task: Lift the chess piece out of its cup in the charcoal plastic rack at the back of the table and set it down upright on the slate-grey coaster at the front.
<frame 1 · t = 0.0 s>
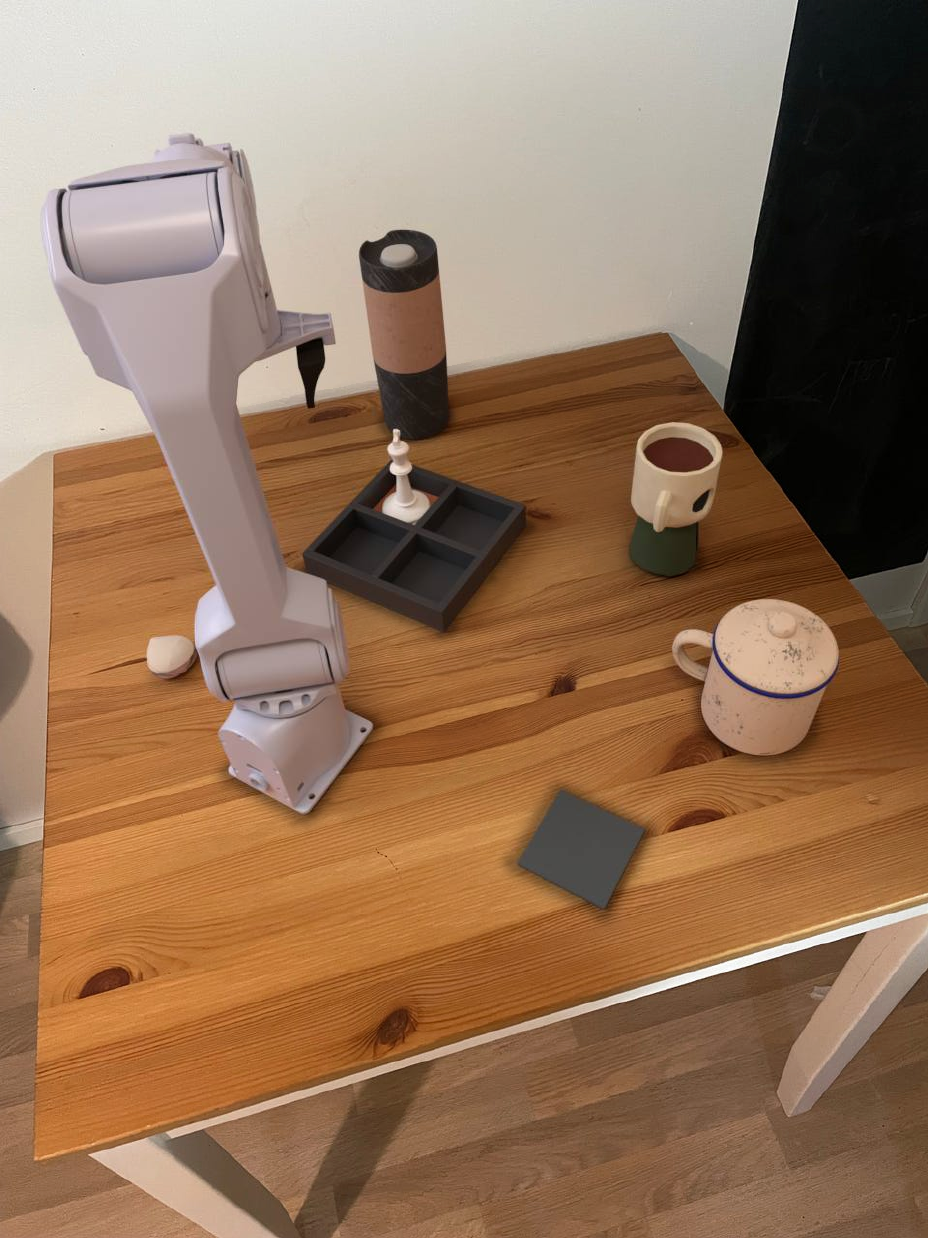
hand: (270, 406, 88), 11 cm above the table, tool pointing down, fingers open, 7 cm apart
travel mug: (417, 421, 103), on the table
coaster: (581, 848, 68), on the table
character mug: (662, 557, 87), on the table
chess piece: (406, 512, 92), resting on rack
teacup with lid: (736, 707, 76), on the table
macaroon: (172, 663, 82), on the table
rack: (418, 549, 89), on the table
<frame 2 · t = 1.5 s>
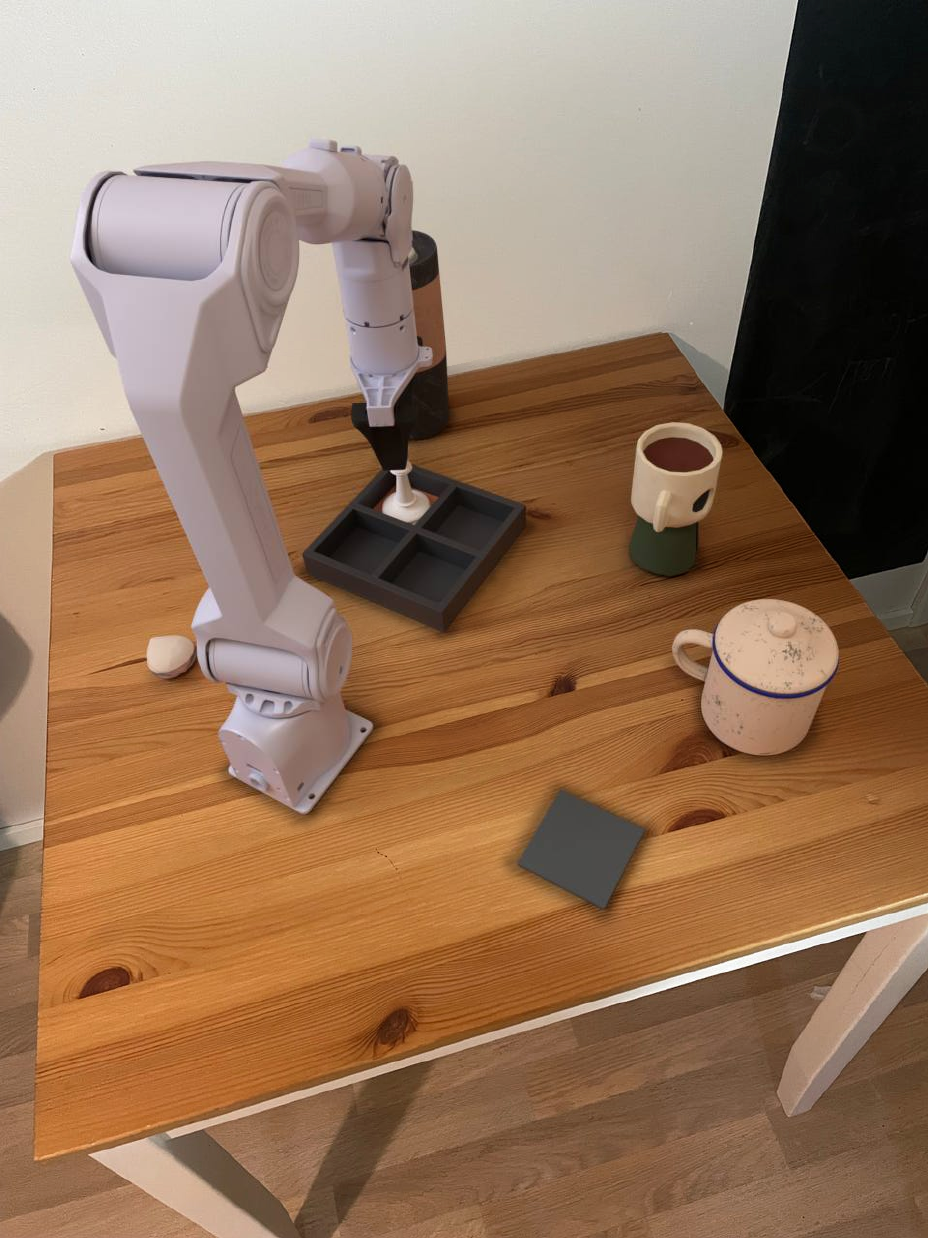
hand: (397, 440, 85), 9 cm above the table, tool pointing down, fingers open, 7 cm apart
nothing on the table moved.
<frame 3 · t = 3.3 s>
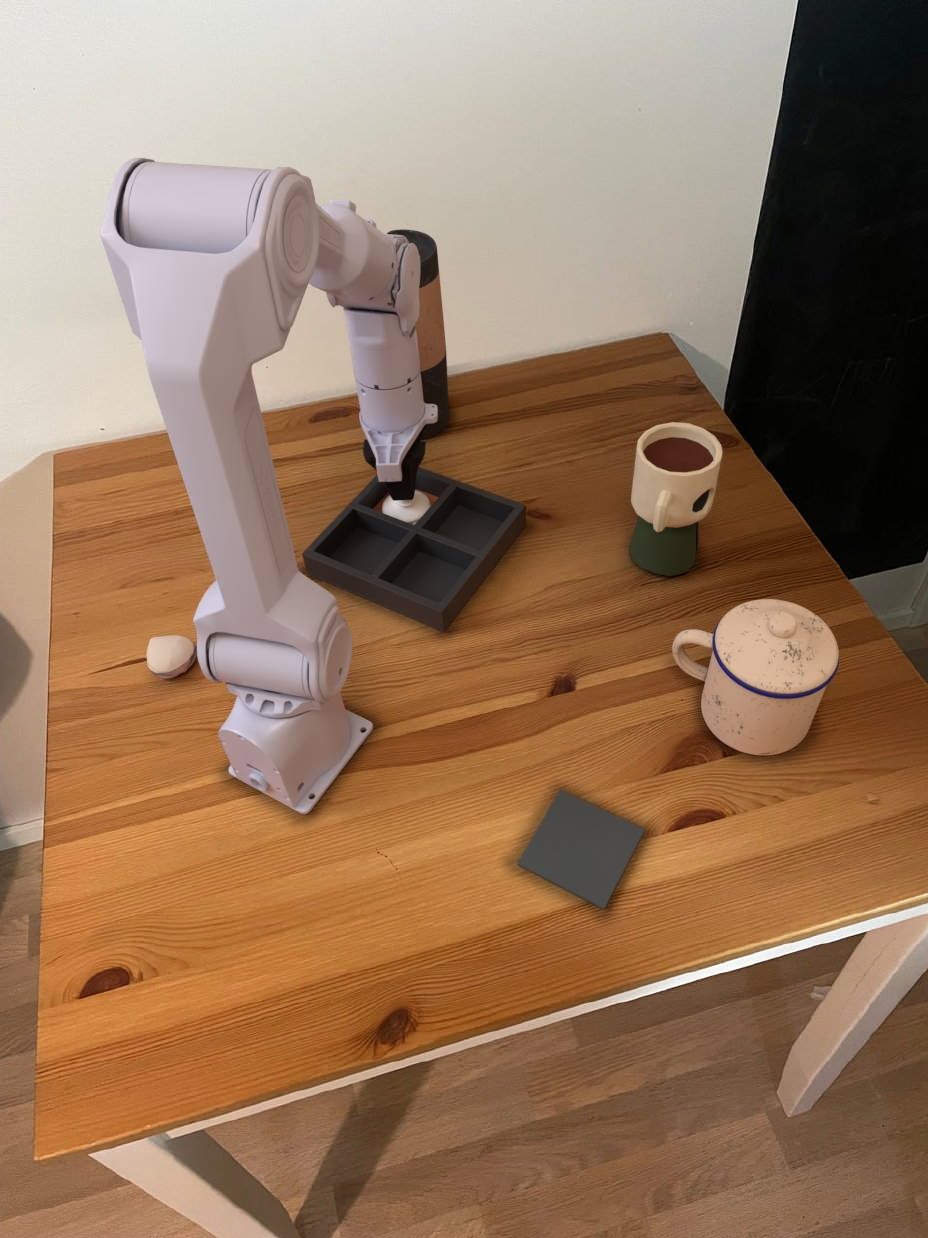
hand: (403, 489, 90), 3 cm above the table, tool pointing down, fingers closed on chess piece
chess piece: (406, 512, 92), resting on rack, touching gripper
everything else where it was.
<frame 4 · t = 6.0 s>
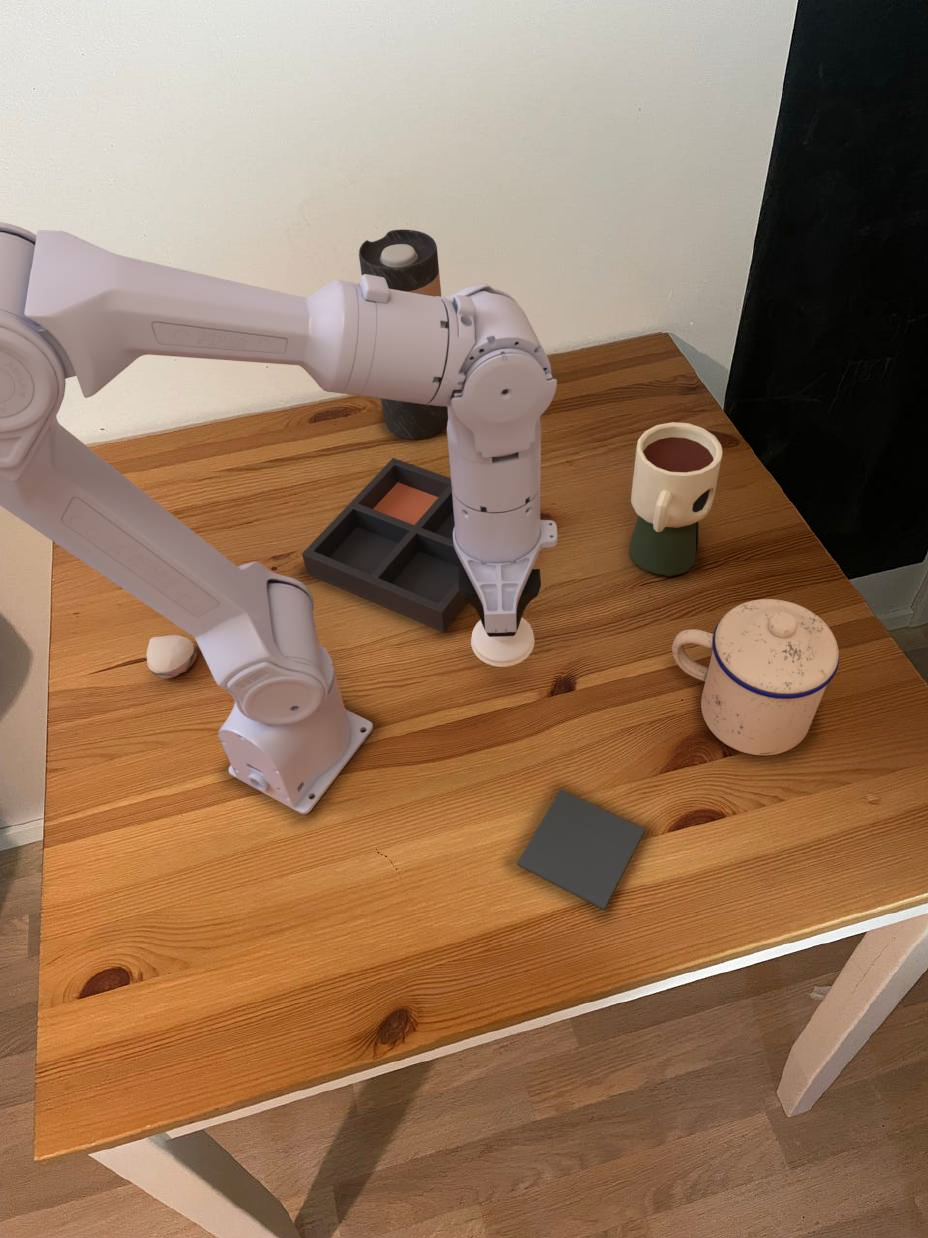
hand: (501, 620, 69), 10 cm above the table, tool pointing down, fingers closed on chess piece
chess piece: (502, 642, 72), point 7 cm above the table, touching gripper
everything else where it was.
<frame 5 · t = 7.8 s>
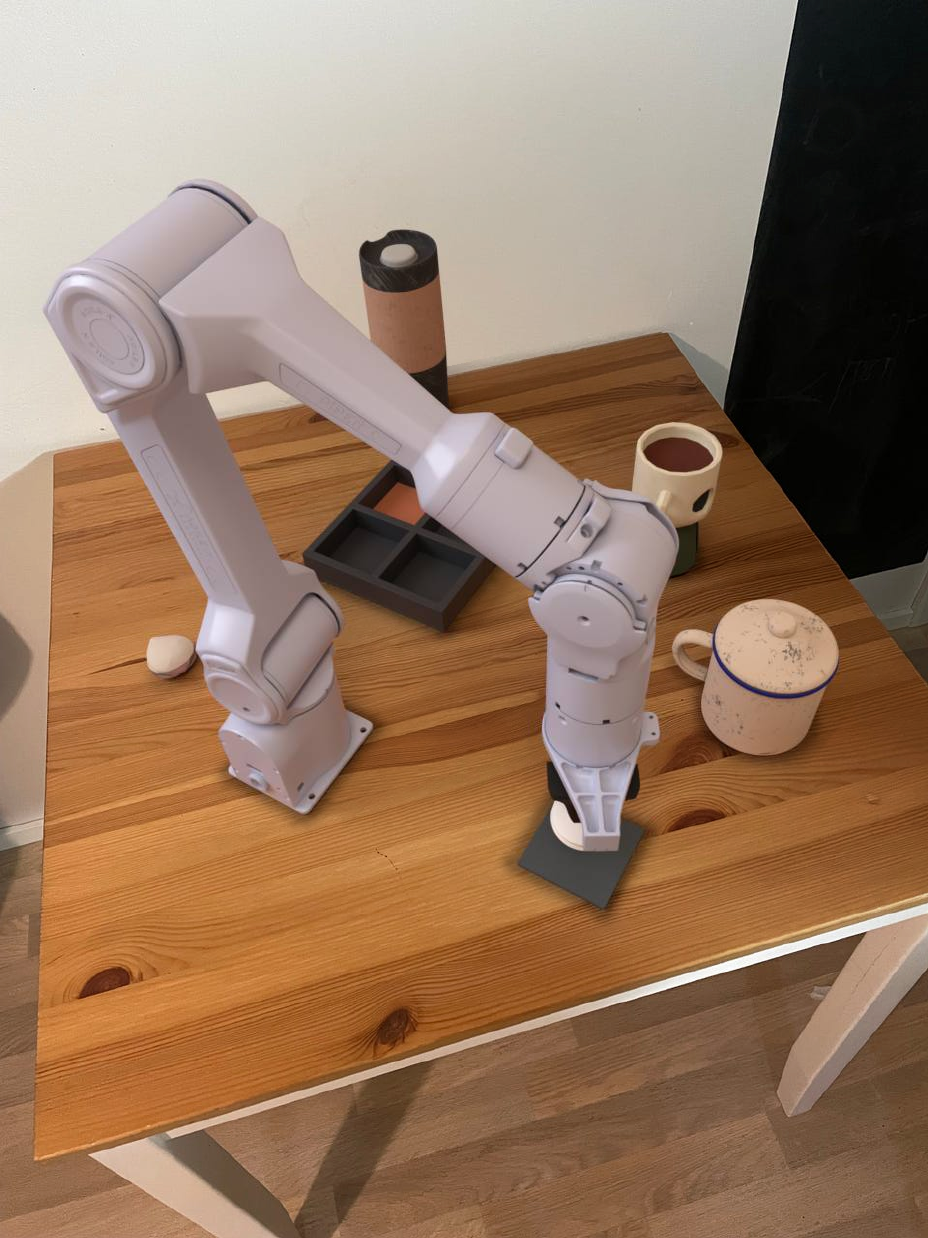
hand: (585, 801, 63), 7 cm above the table, tool pointing down, fingers closed on chess piece
chess piece: (585, 820, 65), point 4 cm above the table, touching gripper
everything else where it was.
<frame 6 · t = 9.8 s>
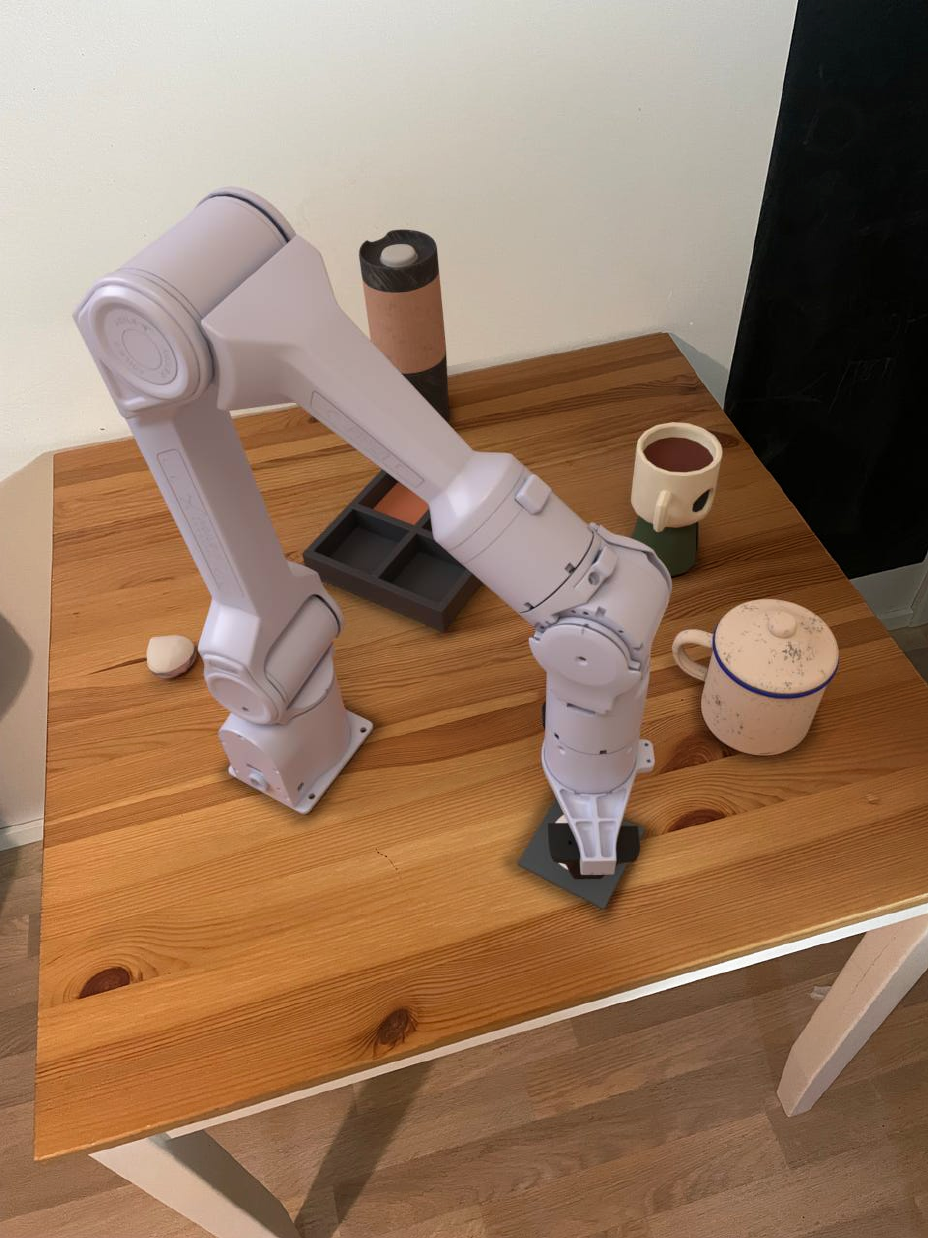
hand: (583, 823, 65), 4 cm above the table, tool pointing down, fingers open, 7 cm apart
chess piece: (582, 844, 68), resting on coaster
everything else where it was.
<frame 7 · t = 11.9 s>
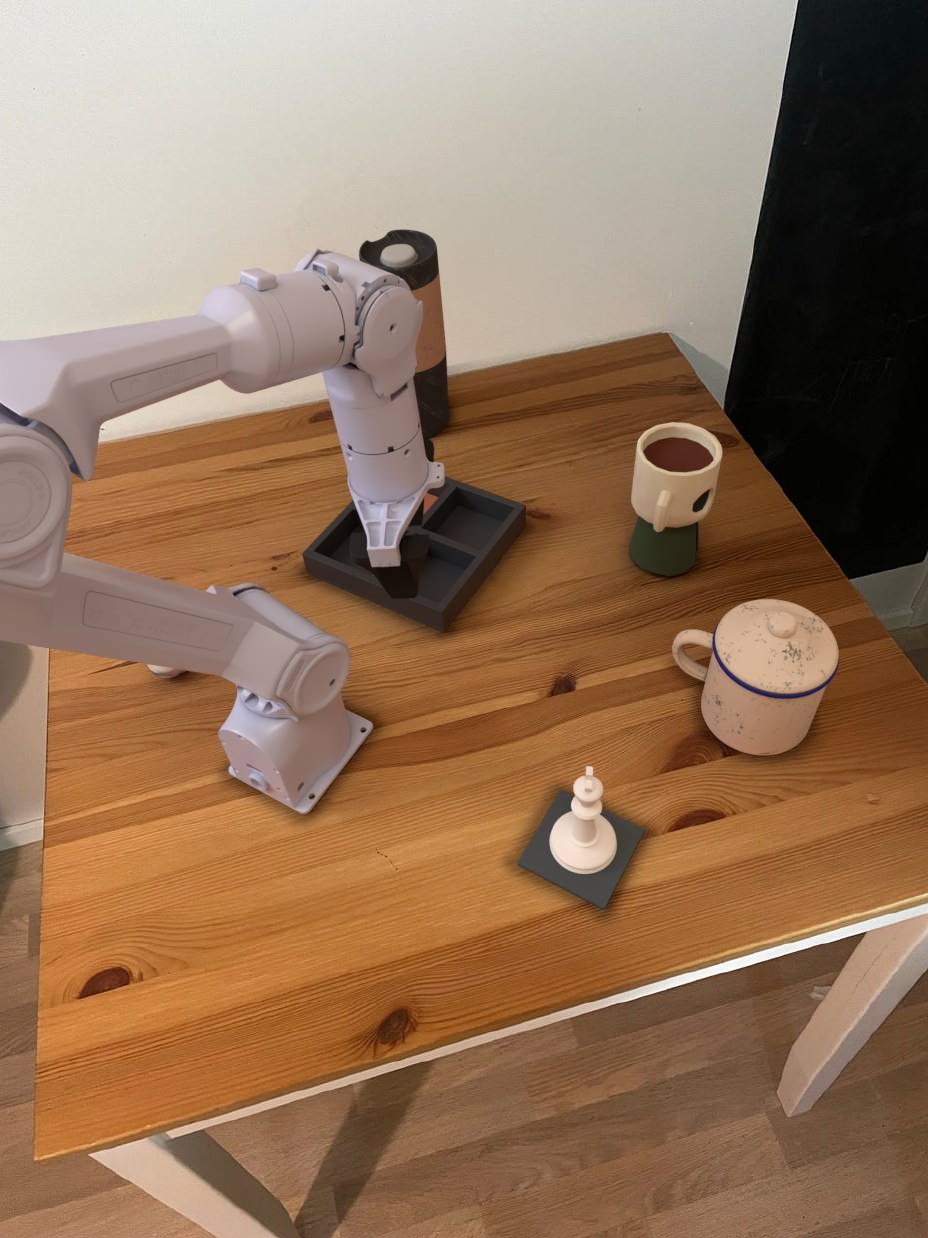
hand: (406, 557, 74), 10 cm above the table, tool pointing down, fingers open, 7 cm apart
nothing on the table moved.
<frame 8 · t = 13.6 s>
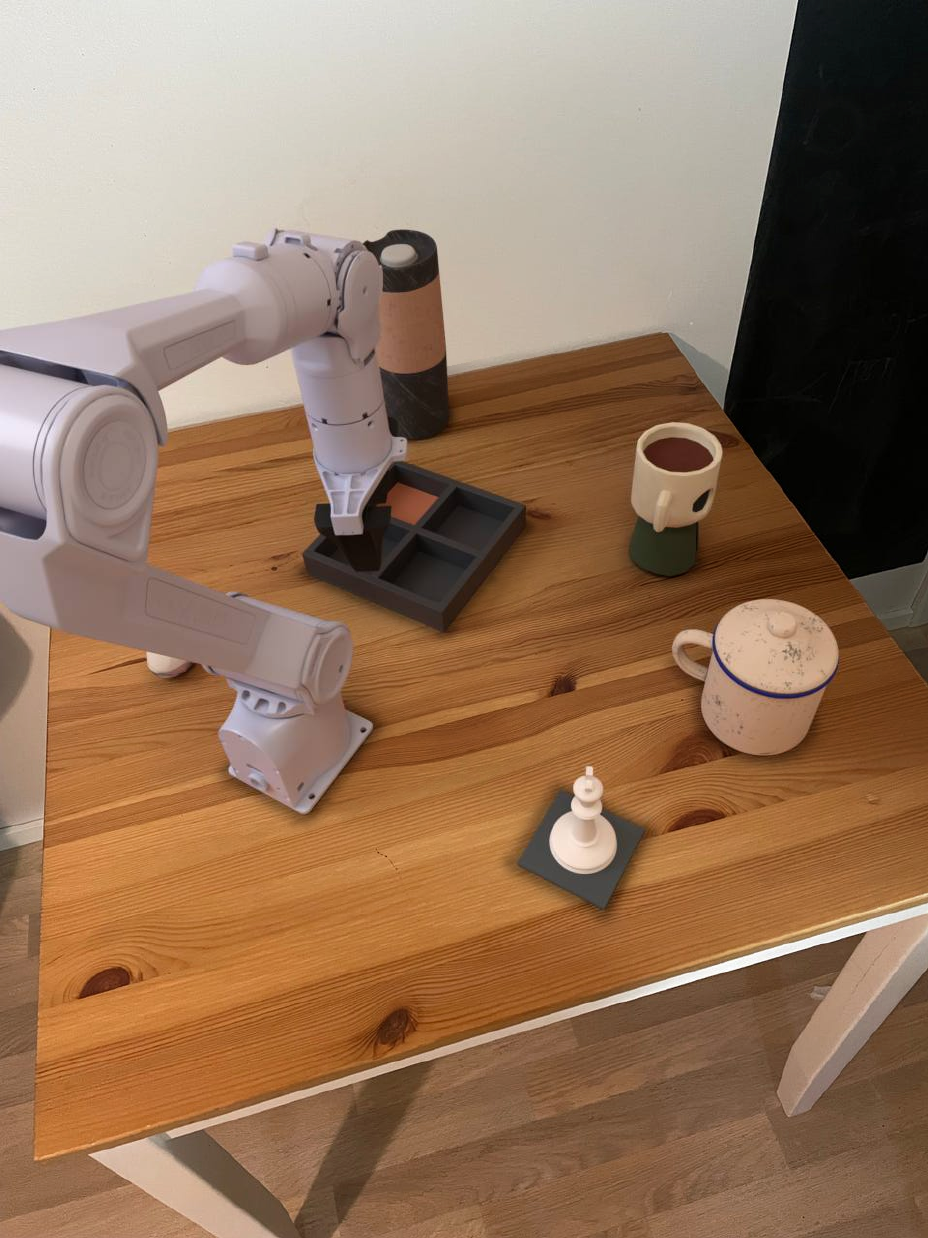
hand: (371, 533, 76), 10 cm above the table, tool pointing down, fingers open, 7 cm apart
nothing on the table moved.
at the end: chess piece 0.3 cm off-centre on the coaster, point 0.2 cm above the coaster's base; chess piece tilted 0°; the gripper is holding nothing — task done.
